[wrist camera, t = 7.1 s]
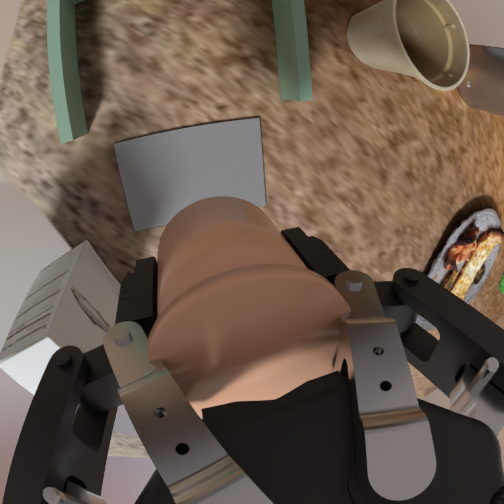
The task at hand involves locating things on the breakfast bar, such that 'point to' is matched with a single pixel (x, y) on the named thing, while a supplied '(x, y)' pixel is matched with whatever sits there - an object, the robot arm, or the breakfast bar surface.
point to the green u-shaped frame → (67, 72)
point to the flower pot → (413, 40)
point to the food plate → (467, 256)
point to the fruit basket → (502, 285)
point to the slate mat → (190, 169)
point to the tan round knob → (239, 307)
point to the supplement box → (61, 314)
